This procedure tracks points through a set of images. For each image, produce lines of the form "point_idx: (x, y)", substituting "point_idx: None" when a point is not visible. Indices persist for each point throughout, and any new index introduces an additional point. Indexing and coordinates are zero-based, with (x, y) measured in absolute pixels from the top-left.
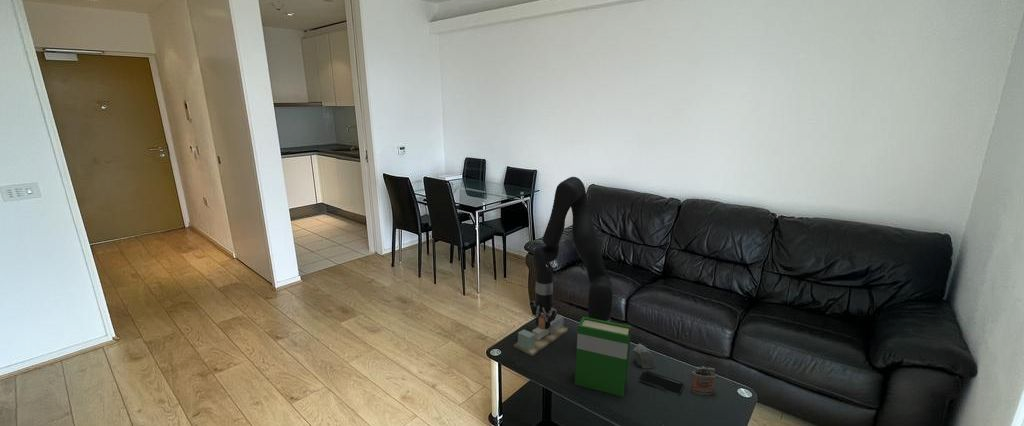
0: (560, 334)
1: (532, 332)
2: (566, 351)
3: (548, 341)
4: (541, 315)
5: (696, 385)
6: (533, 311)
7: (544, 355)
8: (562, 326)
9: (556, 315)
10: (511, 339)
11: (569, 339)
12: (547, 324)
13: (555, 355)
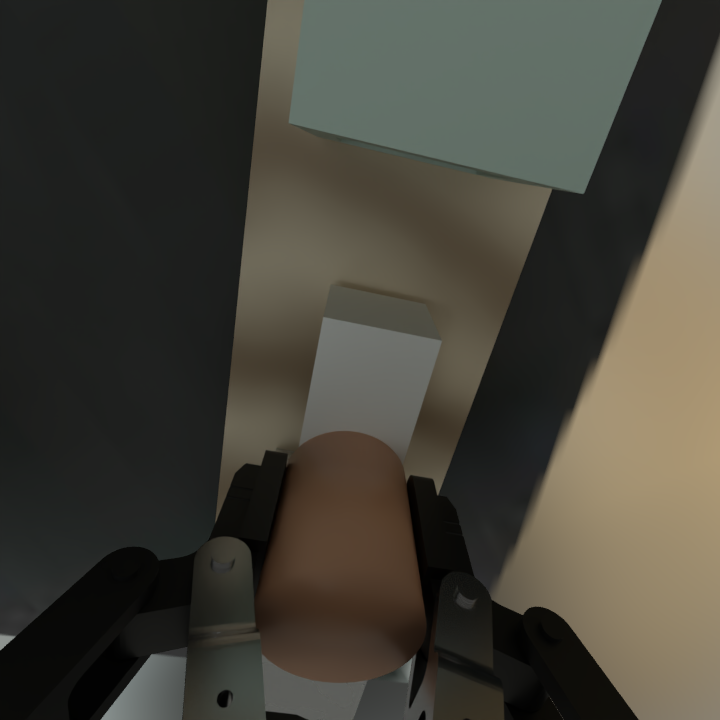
0: (218, 506)
1: (431, 328)
2: (16, 294)
3: (242, 346)
4: (387, 646)
5: None
6: (573, 692)
7: (154, 81)
8: None
9: (301, 706)
10: (657, 214)
11: (126, 483)
12: (241, 509)
13: (52, 156)
